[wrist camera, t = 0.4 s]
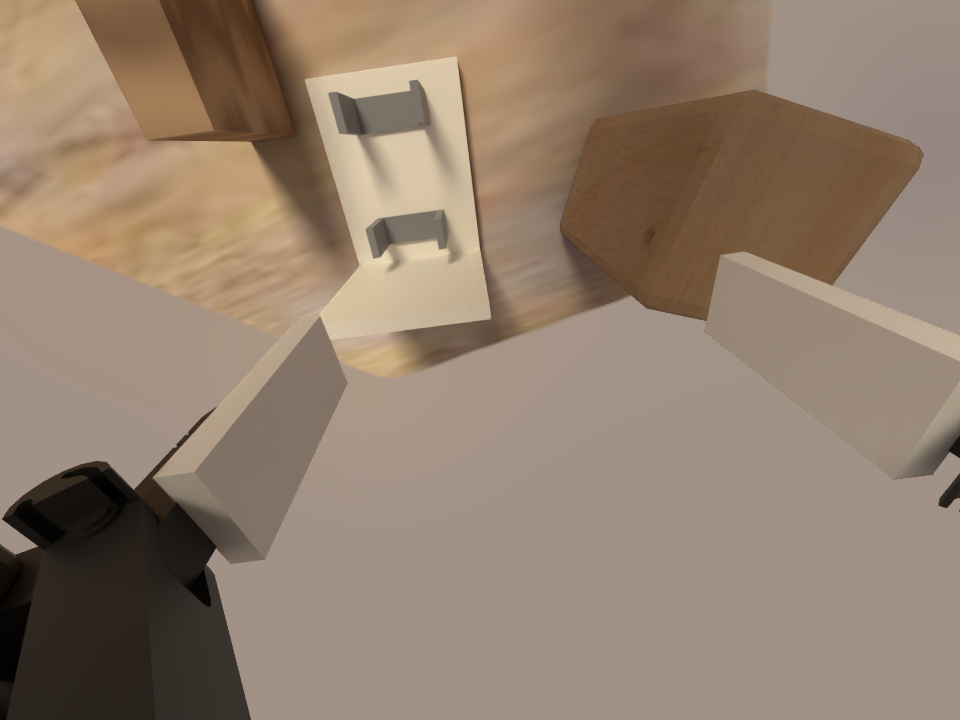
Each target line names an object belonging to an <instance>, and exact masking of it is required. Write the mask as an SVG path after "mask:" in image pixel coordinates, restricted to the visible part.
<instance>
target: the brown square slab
mask: <svg viewBox="0 0 960 720" xmlns="http://www.w3.org/2000/svg"><path fill="white" fill-rule="evenodd" d="M75 1H76V3H77V5H78V7H79V9H80V11H81V12H82V14H83V16H84V18H85V20H86V22H87V24H88V26H89V28H90V30H91V32H92V34H93V36H94V38H95V40H96V42H97V44H98V46H99V48H100V50H101V52H102V54H103V56H104V58H105V59H106V61H107V63H108V65H109V67H110V69H111V71H112V73H113V75H114V77H115V79H116V81H117V83H118V85H119V87H120V89H121V91H122V93H123V95H124V97H125V99H126V101H127V103H128V104H129V106H130V108H131V110H132V112H133V114H134V116H135V118H136V120H137V122H138V124H139V126H140V128H141V130H142V132H143V134H144V136H145V138H146V140H165V141H239V142H252V141H258V140H265V139H272V138H279V137H286V136H293V135H296V134H295V131H294V127H293V124H292V121H291V118H290V115H289V112H288V109H287V106H286V103H285V100H284V97H283V94H282V91H281V88H280V85H279V82H278V79H277V75H276V72H275V69H274V66H273V63H272V60H271V57H270V54H269V51H268V48H267V45H266V42H265V39H264V36H263V33H262V30H261V27H260V23H259V20H258V17H257V14H256V11H255V8H254V5H253V2H252V0H75Z"/></svg>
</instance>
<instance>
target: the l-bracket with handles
mask: <svg viewBox="0 0 960 720" xmlns="http://www.w3.org/2000/svg"><path fill="white" fill-rule="evenodd" d="M305 83H306V86H307V90H308V93H309V96H310V100H311V103H312V106H313V110H314V113H315V117H316V120H317V123H318V127H319V130H320V133H321V137H322V140H323V144H324V147H325V150H326V154H327V157H328V160H329V164H330V167H331V171H332V174H333V177H334V181H335V184H336V187H337V191H338V194H339V198H340V201H341V204H342V208H343V211H344V214H345V218H346V221H347V225H348V228H349V231H350V235H351V238H352V241H353V245H354V248H355V252H356V255H357V258H358V262H359V265H360V266H359V267H358V269H357V270H356V271H355V272H354V273H353V275H352V276H351V277H350V278H349V279H348V281H347V282H346V283H345V284H344V285H343V287H342V288H341V289H340V290H339V291H338V292H337V294H336V295H335V296H334V297H333V298H332V300H331V301H330V302H329V303H328V304H327V306H326V307H325V308H324V309H323V310H322V312H321V313H320V314H319V315H318V316H321V319H322V321H323V324H324V326H325V329H326V331H327V333H328V336H329V338H330V340H334V339H342V338H350V337H357V336H365V335H373V334H380V333H388V332H396V331H404V330H411V329H419V328H427V327H434V326H442V325H450V324H457V323H465V322H473V321H481V320H488V319H491V313H490V305H489V298H488V292H487V287H486V281H485V275H484V269H483V264H482V258H481V252H480V245H479V237H478V228H477V220H476V212H475V204H474V195H473V187H472V179H471V170H470V162H469V154H468V145H467V137H466V129H465V120H464V112H463V104H462V95H461V87H460V79H459V70H458V62H457V57H451V58H444V59H437V60H430V61H424V62H417V63H410V64H403V65H397V66H390V67H383V68H376V69H370V70H363V71H356V72H350V73H343V74H336V75H329V76H323V77H316V78H309V79H305Z"/></svg>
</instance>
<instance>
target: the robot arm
mask: <svg viewBox="0 0 960 720" xmlns="http://www.w3.org/2000/svg"><path fill="white" fill-rule="evenodd" d="M705 332H706V333H707V334H708V335H710V336H711V337H712V338H714V339H715V340H716V341H717V342H719V343H720V344H721V345H722V346H724V347H725V348H726V349H728V350H729V351H730V352H732V353H733V354H734V355H735V356H736V357H738V358H739V359H740V360H742V361H743V362H744V363H745V364H747V365H748V366H749V367H750V368H752V369H753V370H754V371H756V372H757V373H758V374H759V375H761V376H762V377H763V378H764V379H766V380H767V381H768V382H770V383H771V384H772V385H773V386H775V387H776V388H777V389H778V390H780V391H781V392H782V393H784V394H785V395H786V396H787V397H789V398H790V399H791V400H793V401H794V402H795V403H797V404H798V405H799V406H800V407H801V408H803V409H804V410H805V411H807V412H808V413H809V414H810V415H812V416H813V417H814V418H815V419H817V420H818V421H819V422H821V423H822V424H823V425H824V426H826V427H827V428H828V429H830V430H831V431H832V432H833V433H835V434H836V435H837V436H838V437H840V438H841V439H842V440H843V441H845V442H846V443H847V444H849V445H850V446H851V447H852V448H854V449H855V450H856V451H857V452H859V453H860V454H861V455H863V456H864V457H865V458H867V459H868V460H869V461H870V462H871V463H873V464H874V465H875V466H877V467H878V468H879V469H880V470H882V471H883V472H884V473H885V474H887V475H888V476H889V477H891V478H892V479H893V480H894V479H903V478H910V477H918V476H926V475H933V473H934V472H935V471H936V469H937V468H938V467H939V465H940V464H941V463H942V461H943V460H944V459H945V457H946V456H947V454H948V453H949V452H951V453H953V454H954V455H956V456H957V457H959V458H960V336H959V335H956V334H954V333H951V332H949V331H946V330H944V329H941V328H938V327H936V326H934V325H931V324H929V323H926V322H923V321H921V320H918V319H916V318H913V317H911V316H908V315H905V314H903V313H900V312H898V311H895V310H893V309H890V308H888V307H885V306H882V305H880V304H877V303H875V302H872V301H869V300H867V299H865V298H862V297H859V296H857V295H854V294H852V293H849V292H847V291H844V290H842V289H839V288H837V287H834V286H831V285H829V284H826V283H824V282H821V281H819V280H816V279H814V278H811V277H808V276H806V275H803V274H801V273H798V272H796V271H793V270H791V269H788V268H786V267H783V266H780V265H778V264H775V263H773V262H770V261H768V260H765V259H763V258H760V257H757V256H755V255H752V254H750V253H747V252H738V253H732V254H725V255H720V259H719V264H718V269H717V274H716V279H715V284H714V289H713V293H712V298H711V303H710V308H709V313H708V318H707V323H706V328H705ZM346 385H347V380H346V378H345V375H344V373H343V370H342V368H341V366H340V363H339V360H338V358H337V356H336V353H335V351H334V348H333V346H332V343H331V341H330V338H329V336H328V333H327V331H326V329H325V326H324V324H323V321H322V319H321V316H315V317H308V318H302V319H297V321H296V322H295V323H294V324H293V325H292V326H291V327H290V328H289V329H288V330H287V331H286V333H285V334H284V335H283V336H282V337H281V338H280V339H279V340H278V341H277V342H276V344H275V345H274V346H273V347H272V348H271V349H270V350H269V351H268V352H267V353H266V354H265V356H264V357H263V358H262V359H261V360H260V361H259V362H258V363H257V364H256V366H254V368H253V369H252V370H251V371H250V372H249V373H248V374H247V375H246V376H245V377H244V379H243V380H242V381H241V382H240V383H239V384H238V385H237V386H236V387H235V388H234V389H233V390H232V392H231V393H230V394H229V395H228V396H227V397H226V398H225V399H224V400H223V401H222V402H221V404H220V405H219V406H217V407H216V408H214V409H213V410H212V411H210V412H209V413H207V414H206V415H205V416H203V417H202V418H201V419H200V420H199V421H198V422H197V423H196V424H195V425H194V427H192V428H191V430H190V431H189V432H188V435H185V436H184V437H183V438H182V439H181V440H180V441H179V442H178V443H177V447H176V448H173V449H172V450H171V451H170V452H169V453H168V454H167V455H166V456H165V457H164V458H163V459H162V461H161V462H160V463H159V464H158V465H157V466H156V467H155V468H154V469H153V470H152V471H151V472H150V474H148V475H147V476H146V478H145V479H144V480H143V481H142V482H141V483H140V484H139V485H138V486H137V487H136V488H135V489H134V490H133V489H132V488H131V487H130V486H129V485H128V484H127V483H126V481H124V479H123V478H122V477H121V476H120V475H119V474H118V473H117V472H116V471H115V470H114V469H113V468H112V467H111V466H110V465H109V464H108V463H107V462H101V461H95V462H90V463H85V464H81V465H78V466H76V467H73V468H71V469H68V470H66V471H63V472H61V473H59V474H57V475H55V476H53V477H51V478H50V479H48V480H46V481H44V482H42V483H41V484H39V485H38V486H36V487H35V488H33V489H32V490H30V491H29V492H27V493H26V494H25V495H23V496H22V497H21V498H20V499H19V500H18V501H17V502H15V503H14V504H13V505H12V506H11V507H10V508H9V509H8V511H7V512H6V514H5V515H4V517H3V518H2V520H4V521H5V522H7V523H8V524H9V525H10V526H12V527H13V528H15V529H16V530H17V531H19V532H20V533H21V534H23V535H24V536H25V537H27V538H28V539H29V540H31V541H32V542H33V543H35V544H36V545H37V546H38V547H36V548H33V549H30V550H28V551H25V552H22V553H19V554H16V555H15V554H13V553H12V552H10V551H9V550H8V549H6V548H5V547H3V546H2V545H0V720H251V718H250V715H249V710H248V706H247V702H246V698H245V694H244V690H243V686H242V682H241V678H240V674H239V670H238V666H237V662H236V659H235V654H234V650H233V647H232V642H231V639H230V635H229V631H228V627H227V623H226V619H225V615H224V611H223V607H222V603H221V599H220V595H219V591H218V587H217V583H216V579H215V575H214V573H213V572H212V571H211V569H210V568H209V567H208V566H207V565H206V564H207V562H208V561H209V559H210V557H211V556H212V554H213V552H214V550H215V549H217V550H218V551H219V552H220V553H221V554H222V555H223V556H224V557H225V558H226V560H227V561H228V562H229V563H230V564H234V563H241V562H249V561H258V560H265V558H266V556H267V554H268V551H269V549H270V547H271V545H272V543H273V541H274V539H275V537H276V534H277V532H278V530H279V528H280V526H281V524H282V522H283V520H284V518H285V515H286V513H287V511H288V509H289V507H290V505H291V503H292V500H293V498H294V496H295V494H296V492H297V490H298V488H299V485H300V483H301V481H302V479H303V477H304V475H305V473H306V471H307V469H308V466H309V464H310V462H311V460H312V458H313V456H314V454H315V451H316V449H317V447H318V445H319V443H320V441H321V439H322V436H323V434H324V432H325V430H326V428H327V426H328V424H329V421H330V420H331V417H332V415H333V413H334V411H335V409H336V407H337V405H338V402H339V400H340V398H341V396H342V394H343V392H344V390H345V387H346ZM957 498H960V474H959V475H958V476H957V477H956V479H955V480H954V481H953V482H952V484H951V485H950V486H949V487H948V489H947V490H946V491H945V493H944V494H943V495H942V496H941V498H940V500H939V506H941V507H945V508H947V507H948V506H949V505H950V504H951V503H952V502H953V500H954V499H957ZM959 512H960V511H959Z"/></svg>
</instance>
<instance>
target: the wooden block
mask: <svg viewBox="0 0 960 720" xmlns="http://www.w3.org/2000/svg"><path fill="white" fill-rule="evenodd" d="M923 155H924V153H923V152H922V150H921V149H920V147H918V146H916V145H915V144H914V143H912V142H910V141H909V140H907V139H904V138H901V137H898V136H895V135H892V134H889V133H886V132H882V131H880V130H877V129H873V128H870V127H867V126H864V125H861V124H858V123H855V122H852V121H849V120H846V119H843V118H840V117H837V116H834V115H831V114H827V113H824V112H821V111H818V110H815V109H812V108H809V107H806V106H803V105H800V104H797V103H794V102H790V101H788V100H784V99H782V98H778V97H775V96H772V95H769V94H766V93H763V92H760V91H757V90H751V91H745V92H740V93H734V94H729V95H724V96H718V97H713V98H708V99H702V100H697V101H692V102H686V103H681V104H675V105H670V106H665V107H659V108H654V109H649V110H643V111H638V112H633V113H627V114H622V115H616V116H611V117H606V118H601V119H597V120H596V122H595V123H594V125H593V126H592V127H591V130H590V133H589V136H588V139H587V142H586V145H585V148H584V151H583V155H582V158H581V161H580V164H579V167H578V170H577V173H576V176H575V179H574V183H573V186H572V189H571V192H570V195H569V198H568V201H567V204H566V207H565V211H564V214H563V217H562V220H561V223H560V231H561V233H562V234H563V235H564V236H565V237H566V238H568V239H569V240H570V241H571V242H572V243H573V244H574V245H575V246H577V247H578V248H579V249H580V250H581V251H582V252H583V253H584V254H585V255H587V256H588V257H589V258H590V259H591V260H592V261H593V262H594V263H596V264H597V265H598V266H599V267H600V268H601V269H602V270H603V271H605V272H606V273H607V274H608V275H609V276H610V277H611V278H612V279H614V280H615V281H616V282H617V283H618V284H619V285H620V286H621V287H623V288H624V289H625V290H626V291H627V292H628V293H629V294H630V295H632V296H633V297H634V298H635V299H636V300H637V301H638V302H640V303H641V304H642V305H644V306H645V307H646V308H648V309H652V310H657V311H662V312H667V313H672V314H676V315H681V316H686V317H690V318H695V319H700V320H705V321H707V318H708V313H709V308H710V303H711V298H712V293H713V289H714V284H715V279H716V274H717V269H718V264H719V259H720V255H725V254H732V253H738V252H747V253H750V254H752V255H755V256H757V257H760V258H763V259H765V260H768V261H770V262H773V263H775V264H778V265H780V266H783V267H786V268H788V269H791V270H793V271H796V272H798V273H801V274H803V275H806V276H808V277H811V278H814V279H816V280H819V281H821V282H824V283H826V284H829V285H831V286H832V285H833V283H834V282H835V281H836V280H837V278H838V277H839V276H840V274H841V273H842V272H843V270H844V269H845V268H846V266H847V265H848V264H849V262H850V261H851V260H852V258H853V257H854V256H855V254H856V253H857V251H858V250H859V249H860V247H861V246H862V245H863V243H864V242H865V241H866V239H867V238H868V236H869V235H870V234H871V233H872V231H873V230H874V229H875V227H876V226H877V225H878V223H879V222H880V220H881V219H882V218H883V216H884V215H885V214H886V212H887V211H888V210H889V208H890V207H891V206H892V204H893V203H894V202H895V200H896V199H897V198H898V196H899V195H900V194H901V192H902V191H903V189H904V188H905V187H906V185H907V184H908V183H909V181H910V180H911V179H912V177H913V176H914V175H915V173H916V172H917V171H918V169H919V167H920V164H921V161H922V157H923Z"/></svg>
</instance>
